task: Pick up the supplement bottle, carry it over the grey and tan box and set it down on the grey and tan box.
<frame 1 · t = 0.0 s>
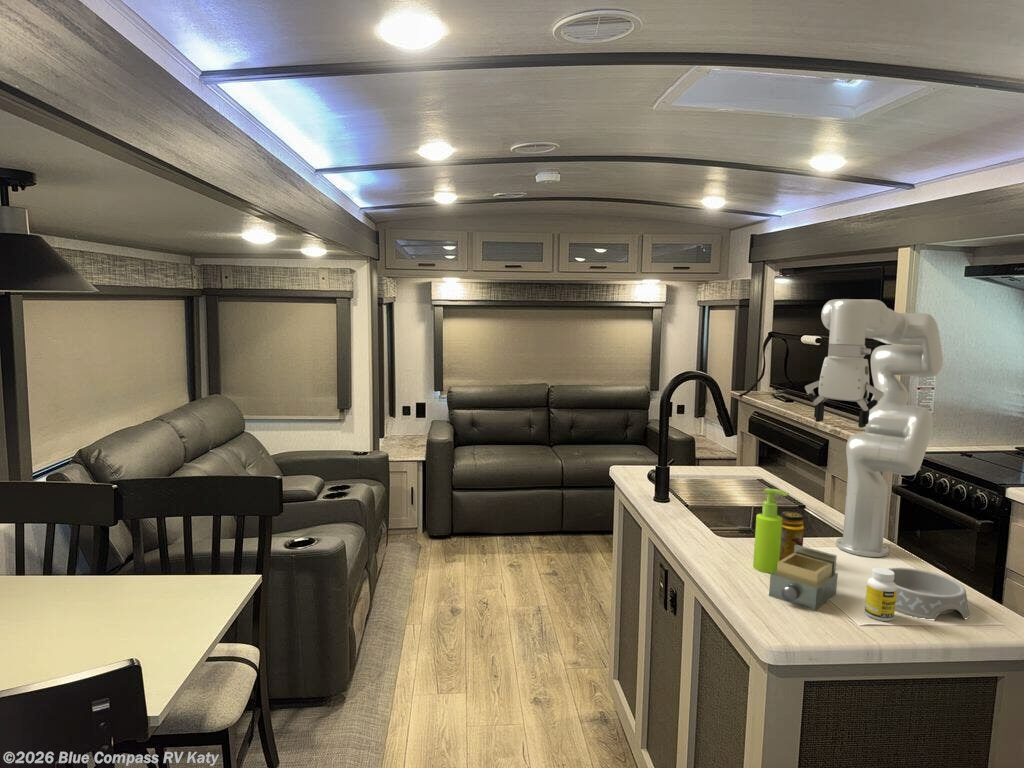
hand: (840, 424, 155), 37 cm above the countertop, tool pointing down, fingers open, 9 cm apart
condiment: (785, 559, 167), on the countertop
grey and tan box: (802, 595, 145), on the countertop
dog bowl: (919, 604, 143), on the countertop
soap dispenser: (767, 569, 160), on the countertop
supplement bottle: (879, 616, 136), on the countertop
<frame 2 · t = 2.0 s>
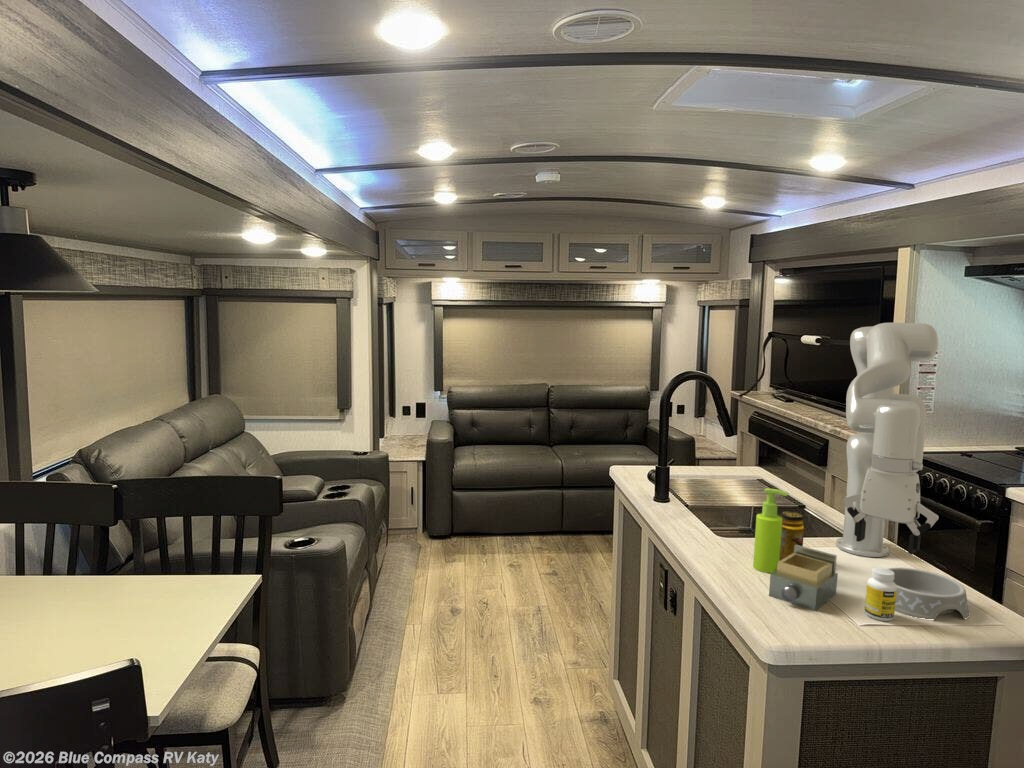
hand: (885, 546, 134), 15 cm above the countertop, tool pointing down, fingers open, 9 cm apart
nothing on the countertop moved.
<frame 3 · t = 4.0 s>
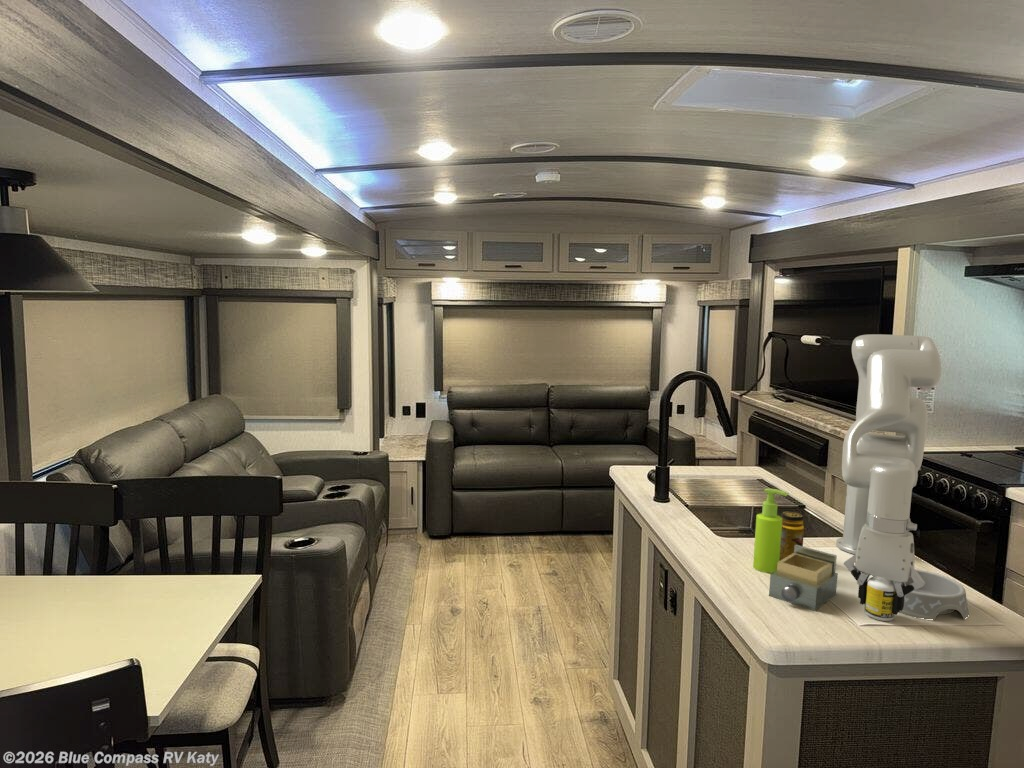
hand: (879, 606, 136), 2 cm above the countertop, tool pointing down, fingers closed on supplement bottle, 5 cm apart
supplement bottle: (879, 616, 136), on the countertop, touching gripper
everything else where it was.
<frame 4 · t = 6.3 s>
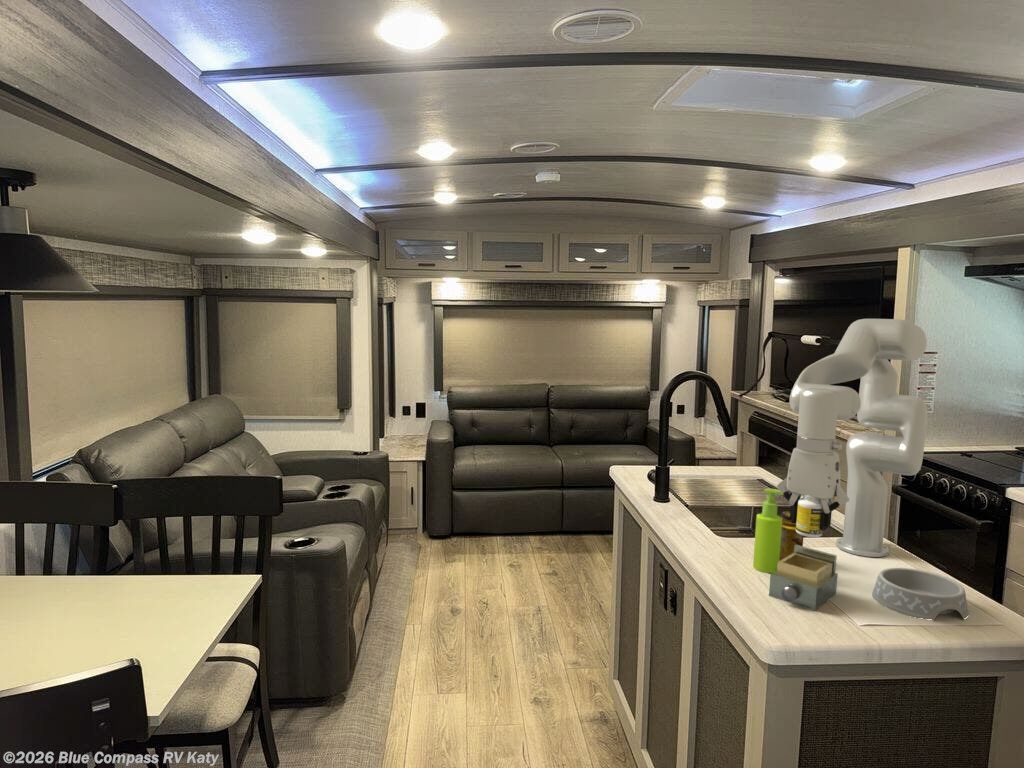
hand: (809, 524, 144), 16 cm above the countertop, tool pointing down, fingers closed on supplement bottle, 5 cm apart
supplement bottle: (808, 534, 144), point 14 cm above the countertop, touching gripper
everything else where it was.
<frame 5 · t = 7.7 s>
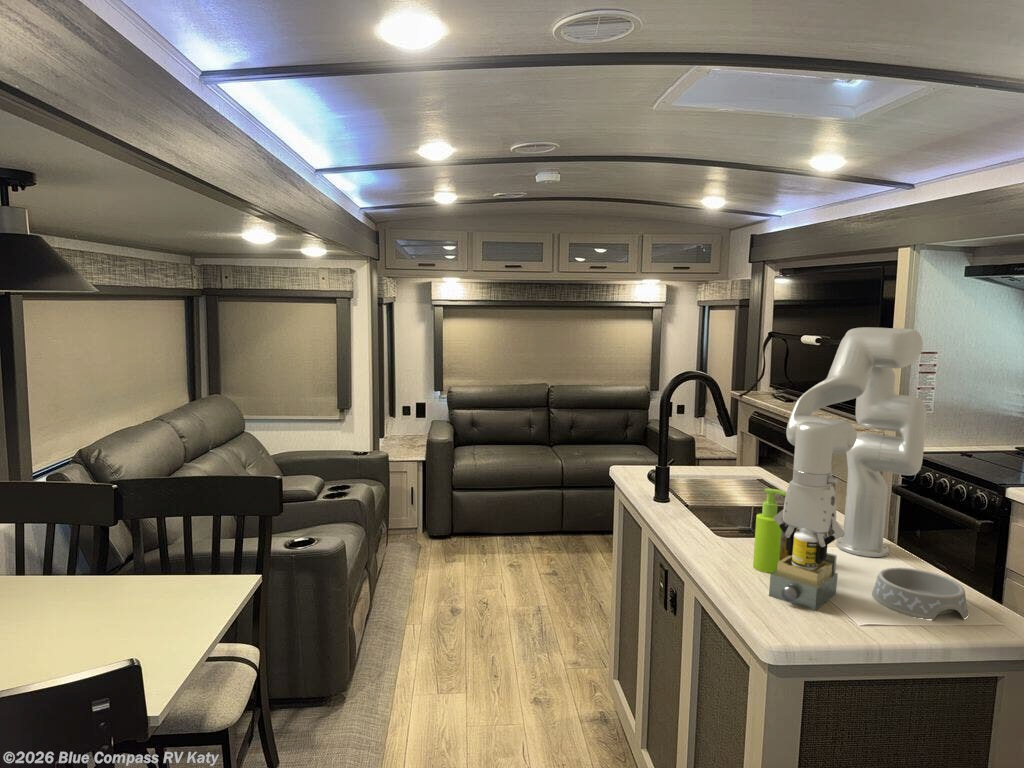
hand: (805, 557, 144), 9 cm above the countertop, tool pointing down, fingers closed on supplement bottle, 5 cm apart
supplement bottle: (804, 567, 145), point 7 cm above the countertop, touching gripper
everything else where it was.
when the fingers open (8 cm above the countertop, at t = 8.6 s): supplement bottle drops 1 cm, resting on grey and tan box.
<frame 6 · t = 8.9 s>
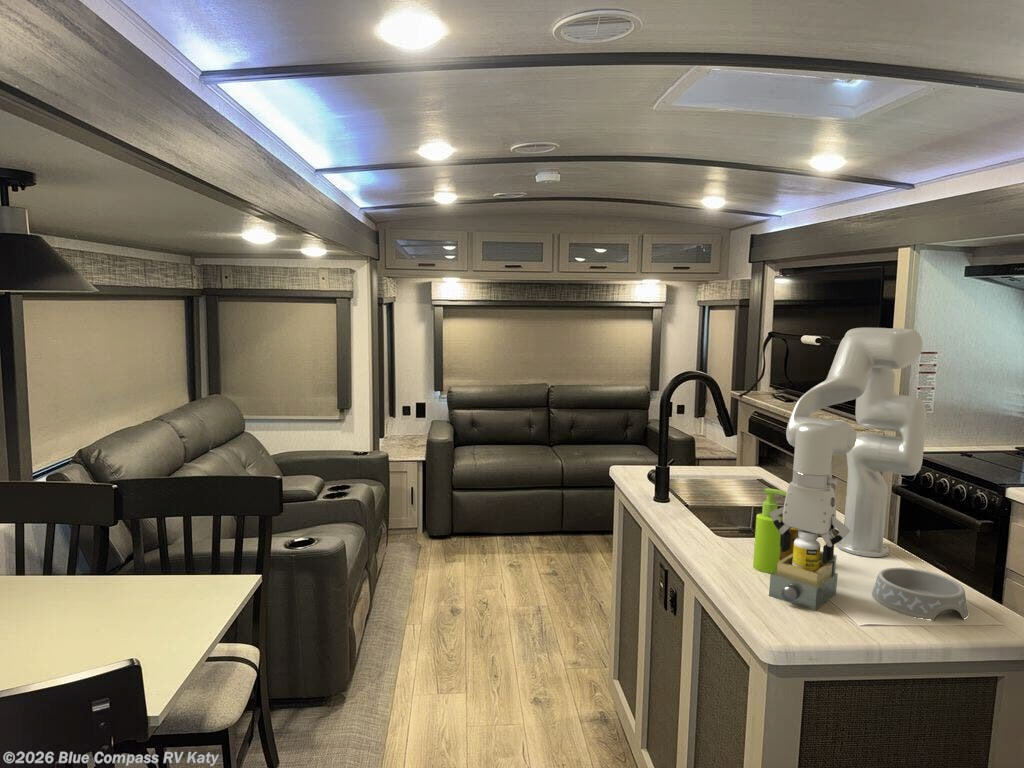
hand: (805, 556, 144), 9 cm above the countertop, tool pointing down, fingers open, 8 cm apart
supplement bottle: (804, 574, 145), point 5 cm above the countertop, touching grey and tan box
everything else where it was.
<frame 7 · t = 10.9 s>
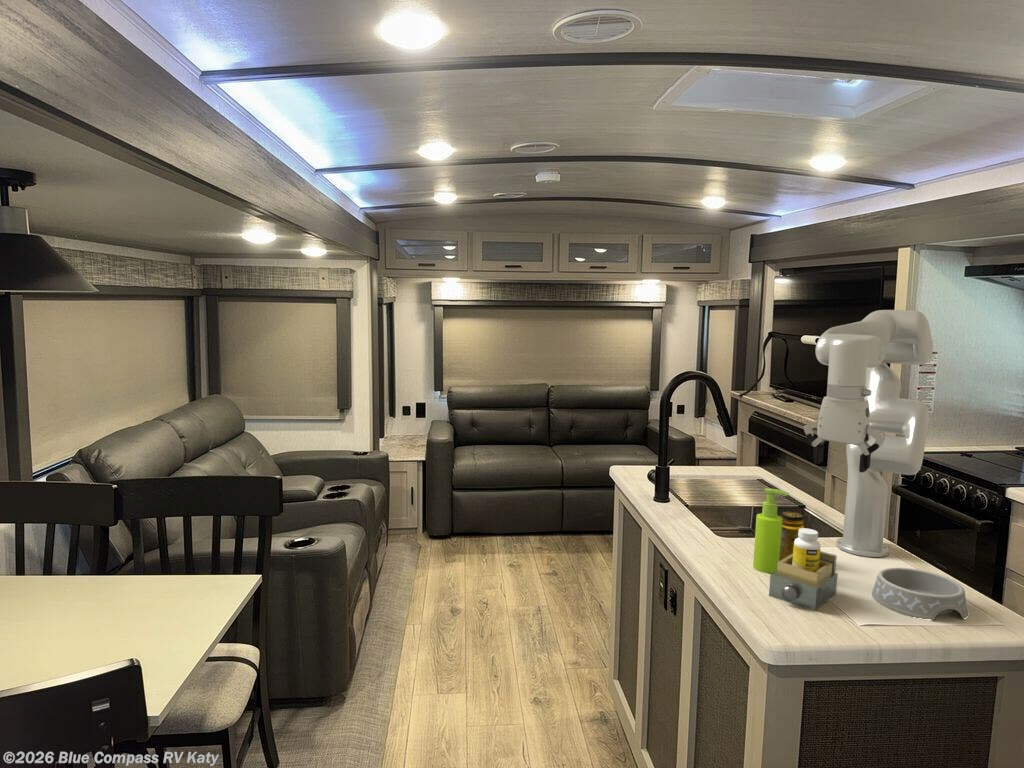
hand: (840, 466, 148), 28 cm above the countertop, tool pointing down, fingers open, 9 cm apart
nothing on the countertop moved.
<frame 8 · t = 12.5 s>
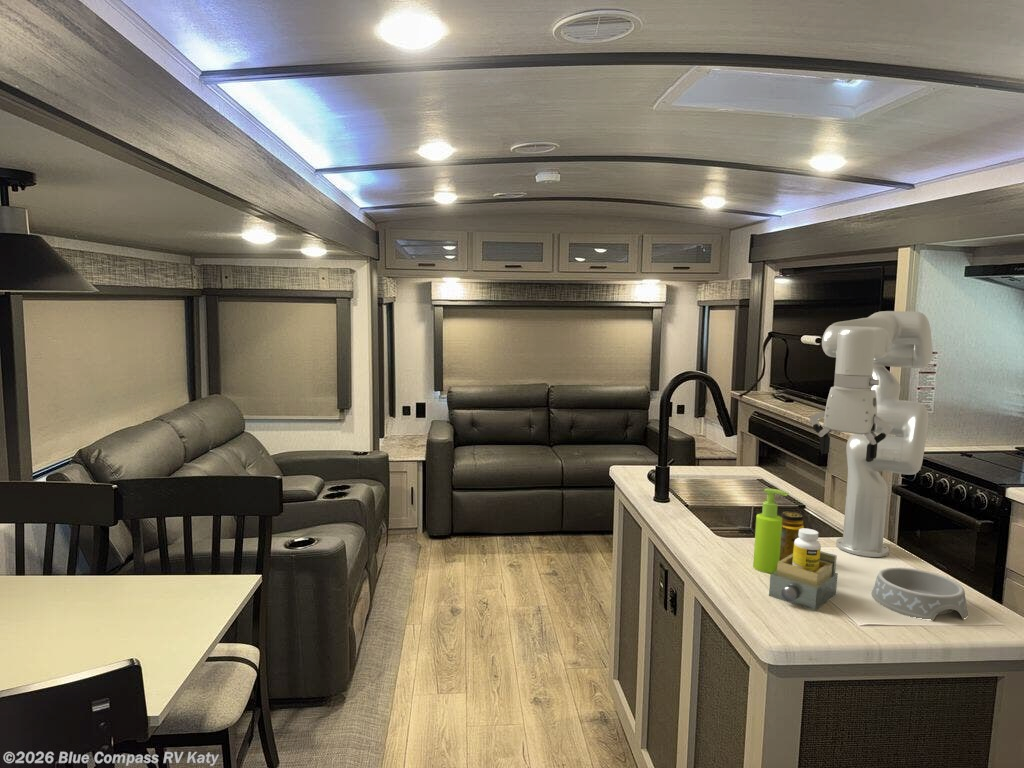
hand: (846, 457, 148), 30 cm above the countertop, tool pointing down, fingers open, 9 cm apart
nothing on the countertop moved.
at the end: supplement bottle 0.1 cm off-centre on the grey and tan box, point 4.8 cm above the grey and tan box's base; supplement bottle tilted 0°; the gripper is holding nothing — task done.
